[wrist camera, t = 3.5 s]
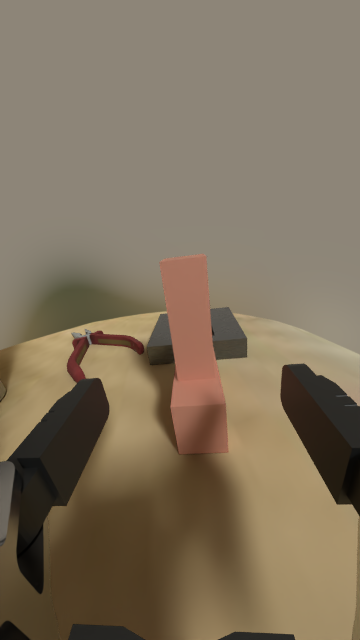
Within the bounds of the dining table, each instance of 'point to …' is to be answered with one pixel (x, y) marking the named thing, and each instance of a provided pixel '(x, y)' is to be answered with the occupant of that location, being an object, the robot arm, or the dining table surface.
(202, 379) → the pink tall block
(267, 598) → the dining table surface
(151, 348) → the grey socket board
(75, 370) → the pliers
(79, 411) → the robot arm
